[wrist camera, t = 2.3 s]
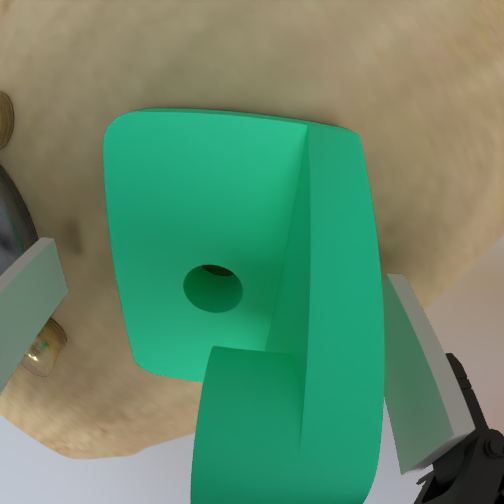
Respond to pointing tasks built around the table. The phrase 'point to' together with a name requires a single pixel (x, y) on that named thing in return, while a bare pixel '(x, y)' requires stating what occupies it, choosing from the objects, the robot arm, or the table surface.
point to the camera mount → (254, 295)
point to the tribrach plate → (16, 244)
